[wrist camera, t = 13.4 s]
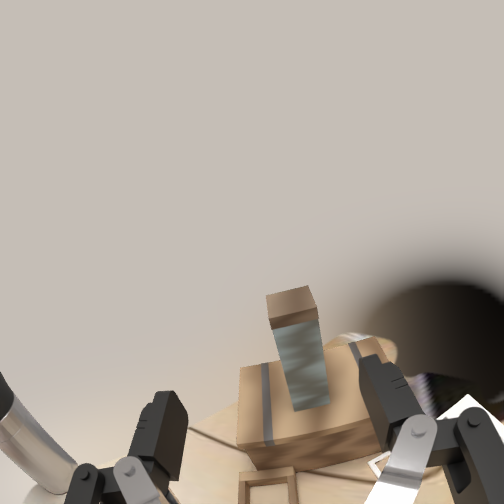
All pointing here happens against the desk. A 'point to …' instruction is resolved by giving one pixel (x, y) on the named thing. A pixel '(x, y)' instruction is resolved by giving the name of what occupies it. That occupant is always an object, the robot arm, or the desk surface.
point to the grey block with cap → (299, 346)
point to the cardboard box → (303, 421)
